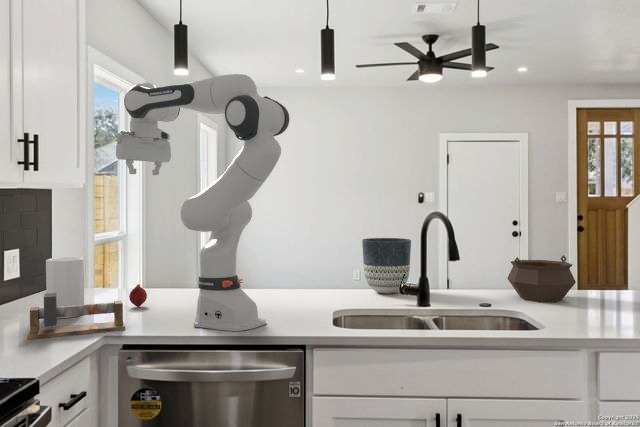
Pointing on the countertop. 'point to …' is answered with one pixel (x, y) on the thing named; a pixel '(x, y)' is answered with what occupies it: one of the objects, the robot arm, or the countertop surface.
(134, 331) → the countertop surface
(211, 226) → the robot arm
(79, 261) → the cup
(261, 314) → the countertop surface
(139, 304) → the onion
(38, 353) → the countertop surface
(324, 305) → the countertop surface
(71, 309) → the pipe rack
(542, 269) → the brown cauldron
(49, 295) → the collar
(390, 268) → the planter
